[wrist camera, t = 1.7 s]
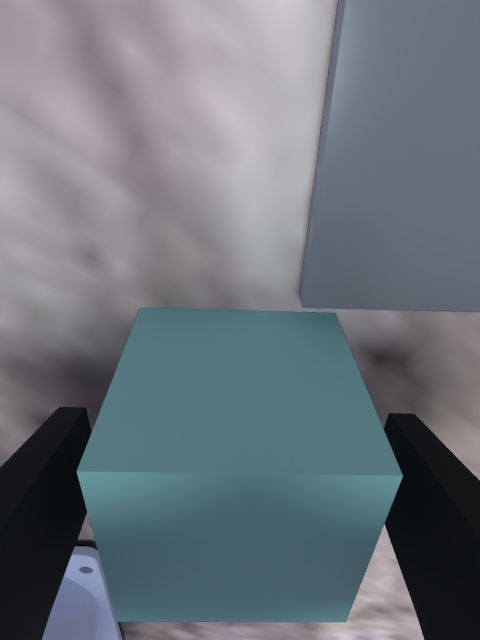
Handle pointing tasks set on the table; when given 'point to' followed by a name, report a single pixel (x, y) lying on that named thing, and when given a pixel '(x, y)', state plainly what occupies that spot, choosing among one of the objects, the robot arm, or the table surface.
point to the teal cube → (236, 469)
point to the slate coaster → (398, 161)
